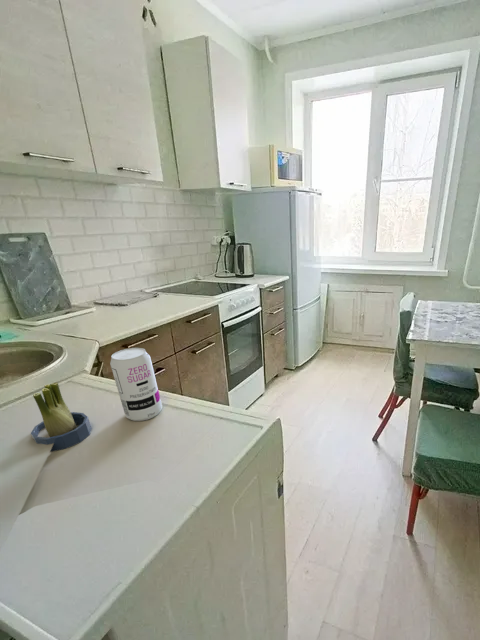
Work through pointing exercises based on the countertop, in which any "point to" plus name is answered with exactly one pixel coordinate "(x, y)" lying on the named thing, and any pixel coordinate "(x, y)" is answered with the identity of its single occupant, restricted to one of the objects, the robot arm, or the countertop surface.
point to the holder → (67, 438)
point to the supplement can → (136, 383)
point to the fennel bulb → (54, 411)
